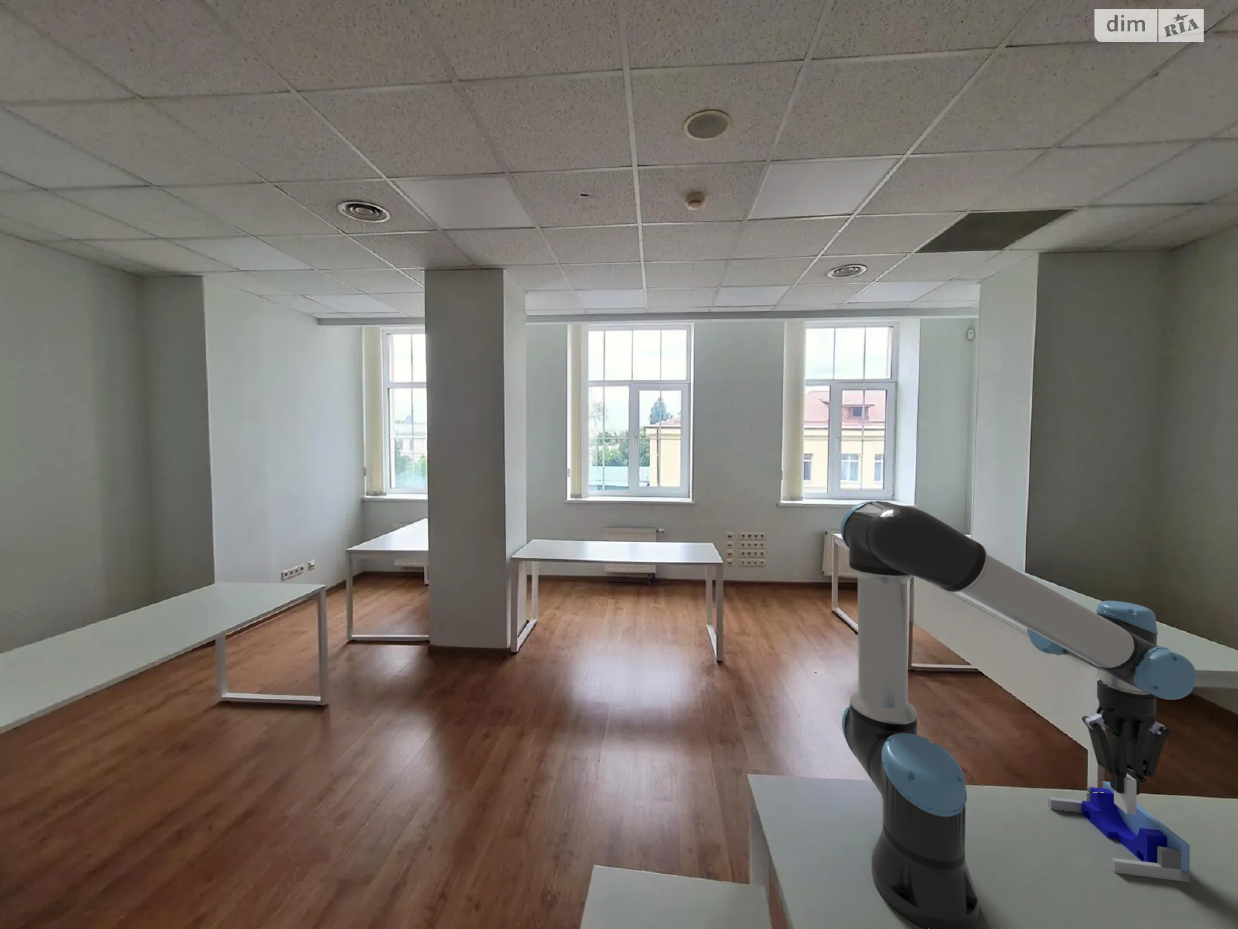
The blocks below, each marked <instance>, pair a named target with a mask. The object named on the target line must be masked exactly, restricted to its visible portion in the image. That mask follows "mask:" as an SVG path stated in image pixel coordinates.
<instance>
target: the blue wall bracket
mask: <svg viewBox="0 0 1238 929" xmlns="http://www.w3.org/2000/svg"><path fill="white" fill-rule="evenodd" d="M1091 787H1092V786H1086V801H1090V790H1091ZM1102 788H1105V789H1109V790H1110V791H1111V792H1112V793H1113V794H1114V789H1112V788H1111V786H1110V781H1105V780H1103V781H1102ZM1087 791H1088V792H1089V793H1087ZM1082 801H1083V800H1080V799H1079V800H1078V799H1071V798H1060V797H1053V796H1051V797H1050V796H1048V798H1047V807H1048V808H1049V809H1050V810H1054V811H1055V810H1056V811H1062V810H1064V811H1065V812H1071V811H1074V812H1073V813H1081V814H1082ZM1116 806H1117V805H1116ZM1117 809H1118V811H1119V814H1120V816H1121V817H1122V819H1123V821H1124V822H1125V824H1126V825H1127V826H1128V828H1129V829H1130V830H1131V831H1132V832H1133V833H1134V834H1135V835H1136V836H1137V835H1138V833H1139V828H1146V829H1155V830H1159V831H1161V832H1162V833H1163V834H1164V835H1166V836H1167V847H1159V846H1158V850H1157V863H1151V862H1143V861H1140V860H1134V859H1127V858H1126V859H1125V858H1117V857H1110V869H1111V870H1112V872H1114V873H1115V874H1121V875H1122V874H1124V875H1130V876H1131V875H1132V876H1137V877H1147V878H1154V879H1160V880H1161V879H1163V880H1169V881H1177V882H1178V881H1179V882H1183V883H1184V882H1185V883H1190V876H1191V875H1190V870H1191V869H1190V866H1191V865H1190V863H1191V862H1190V861H1191V860H1190V857H1191V855H1190V854H1191V852H1190V850H1191V847H1190V846H1191V845H1190V844H1189V843H1188V842H1187V841H1186V840H1184V839H1183V838H1181V836H1179V835H1177V834H1176V832H1174V831H1172V830H1171V829H1170V828H1169V827H1168V826H1166V825H1165V824H1164V823H1163V822H1161V821H1160V820H1158V818H1156V817H1155V816H1153V814H1151V813H1150V812H1149V811H1147V810H1146V809H1145V808H1143V806H1141V805H1139V804H1138V803H1137V802H1136V815H1133V814H1127V813H1125V812H1124V811H1123V810H1122V809H1120V808H1119V807H1118V806H1117ZM1064 811H1063V812H1064Z"/></svg>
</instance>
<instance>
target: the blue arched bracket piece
mask: <svg viewBox="0 0 1238 929" xmlns="http://www.w3.org/2000/svg"><path fill="white" fill-rule="evenodd" d="M1090 787H1091V790H1090V801H1087V800H1081V801H1082V813H1081V815H1082V816H1083V817H1084V818H1086V819H1087V821H1089V822H1090V823H1091V824H1092V825H1093V826H1094V827H1095V828H1097V830H1098V831H1099V832H1101V834H1103V835H1104V837H1106V838H1107V839H1114V840H1117V841H1118V842H1119V843H1120V844H1121V845H1123V846H1124V847H1125V848H1126V849H1127V850H1128V851H1129V852H1130V853H1132V854H1133V856H1135V857H1136V858H1137V859H1138V861H1143V862H1151V863H1157V850H1158V846H1159V847H1167V836H1166V835H1164V834H1163V833H1162V832H1161V831H1159V830H1155V829H1146V828H1139V833H1138V835H1137V836H1136V835H1135V834H1134V833H1133V832H1132V831H1131V830H1130V829H1129V828H1128V826H1127V825H1126V824H1125V822H1124V821H1123V819H1122V817H1121V816H1120V814H1119V811H1118V809H1117V806H1116V804H1114V794H1113V793H1112V792H1111V791H1110V790H1109V789H1105V788H1103V787H1095V786H1093V787H1092V786H1090ZM1093 792H1098V793H1093ZM1100 792H1104V793H1100Z"/></svg>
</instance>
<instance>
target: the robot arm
mask: <svg viewBox="0 0 1238 929" xmlns="http://www.w3.org/2000/svg"><path fill="white" fill-rule="evenodd" d="M840 535H841V539H842V541H843V542H844V545H845V546H846V547H847V548H848V561H849V562H848V564H849V566H848V568H849V569H850V570H851V571H852V572H853V573H854V574H855V575H856V576H857V651H858V652H857V656H858V657H857V658H858V659H857V662H858V666H857V670H858V671H857V677H858V678H857V679H858V680H857V683H858V684H857V685H858V686H857V687H858V688H857V689H858V690H857V691H856V692H854V693H852V694H851V696H850V699H849V706H848V707H846V708H845V710H844V711H843V714H842V720H841V729H842V733H843V736H844V738H845V741H846V744H847V745H848V747H849V750H850V751H851V752H852V754H853V755H854V757H855V758H856V759H857V761H858V762H859V764H860V765H861V766H862V768H863V769H864V771H865V772H866V774H867V776H869V779H871V781H872V783H873V785H875V787H876V789H877V790H878V791H879V793H880V795H881V798H882V829H881V832H880V834H879V837H878V838H877V841H876V844H875V846H874V849H873V851H872V853H871V876H872V880H873V882H874V885H875V886H876V889H878V892H879V893H880V895H881V896H882V897H883V898H884V900H885V901H886V902H887V903H888V904H889V905H890V906H891V907H892V908H893V909H894V910H895V911H896V912H898V913H899V915H901V916H903V917H904V918H906V919H907V920H909V921H910V922H912V923H914V924H916V925H918V926H920V927H921V928H924V929H926V928H929V929H975V928H976V927H977V926H978V923H979V920H980V918H979V917H980V915H979V914H980V913H979V912H980V909H979V908H980V905H979V904H980V903H979V897H978V894H977V891H976V888H975V885H974V882H973V879H972V877H971V873H970V870H969V868H968V865H967V862H966V804H967V799H968V794H967V787H966V782H965V775H964V772H963V769H962V767H961V765H960V764H959V762H958V761H957V760H956V758H955V757H954V756H953V755H952V754H951V753H950V752H949V751H948V750H947V749H945V748H944V747H943V746H941V745H940V744H938V743H937V742H936V743H933V742H931V740H930V739H928V738H926V737H924V736H921V735H918V713H917V710H916V709H915V708H914V706H913V705H912V704H910V703H909V701H908V700H909V691H908V690H909V688H908V687H909V686H908V684H909V683H908V678H909V677H908V675H909V674H908V672H909V671H908V670H909V669H908V667H909V666H908V665H909V664H908V658H909V657H908V651H909V650H908V649H909V648H908V643H909V642H908V582H909V580H911V579H912V578H914V577H915V578H918V579H921V580H923V581H926V582H928V583H931V584H933V585H936V586H937V587H939V588H941V589H942V590H944V591H946V592H948V593H953V594H954V593H962V594H964V595H966V596H968V597H970V598H971V599H973V600H975V601H977V602H979V603H980V604H983V605H984V606H986V607H988V608H989V609H992V611H995V612H997V613H999V614H1000V615H1002V616H1004V617H1006V618H1008V619H1009V620H1012V621H1014V622H1015V623H1017V624H1019V625H1020V626H1022V627H1025V628H1027V629H1026V632H1027V636H1028V638H1029V640H1030V643H1032V645H1033V646H1034V647H1035V648H1036V649H1037V650H1038V651H1040V652H1042V653H1044V654H1048V655H1055V656H1063V655H1064V656H1066V655H1067V656H1069V657H1072V658H1074V659H1076V660H1078V661H1080V662H1082V663H1085V664H1086V665H1089V666H1091V667H1093V668H1095V669H1096V677H1097V678H1098V679H1099V680H1097V681H1096V698H1097V699H1098V704H1099V705H1098V707H1097V708H1096V714H1094V715H1093V716H1090V717H1089V716H1087V715H1082V716H1081V720H1082V722H1083V723H1084V725H1085V726H1086V728H1087V730H1088V732H1089V737H1090V742H1091V744H1092V747H1093V751H1094V755H1095V759H1096V763H1097V764H1098V765H1099V766H1100V767H1101V768H1102V769H1103V770H1105V771H1106V772H1108V773H1109V775H1110V776H1109V779H1110V780H1109V782H1110V786H1111V788H1112V789H1114V804H1116V805H1117V806H1118V807H1119V808H1120V809H1122V810H1123V811H1124V812H1125V813H1127V814H1133V815H1136V803H1137V796H1139V795H1141V783H1142V784H1143V783H1146V782H1147V778H1145V777H1148V778H1153V777H1154V776H1155V774H1156V771H1157V767H1158V764H1159V761H1160V758H1161V754H1162V750H1163V748H1164V744H1165V742H1166V740H1167V739H1168V738H1169V737H1170V735H1171V734H1172V730H1171V729H1170V728H1169V727H1166V726H1165V725H1163V724H1162V723H1160V722H1158V721H1156V717H1155V716H1154V715H1156V713H1157V698H1160V699H1162V700H1163V699H1164V700H1173V701H1174V700H1180V699H1183V698H1185V697H1187V696H1188V695H1190V694H1191V693H1192V690H1194V687H1195V686H1196V685H1197V681H1198V675H1197V671H1196V668H1195V666H1194V665H1193V663H1192V662H1191V661H1190V660H1189V659H1188V658H1187V657H1185V656H1184V655H1182V654H1180V653H1177V652H1174V651H1172V650H1171V649H1169V648H1167V647H1165V646H1159V645H1157V642H1158V634H1159V631H1158V627H1157V618H1156V614H1155V613H1154V611H1153V610H1151V609H1150V608H1148V607H1146V606H1143V605H1140V604H1136V603H1131V602H1125V601H1117V600H1104V601H1099V602H1098V604H1097V608H1096V610H1095V611H1096V612H1094V611H1092V610H1091V609H1089V608H1087V607H1085V606H1083V605H1081V604H1079V603H1078V602H1076V601H1074V600H1072V599H1070V598H1068V597H1066V596H1065V595H1063V594H1061V593H1059V592H1057V591H1055V590H1053V589H1051V588H1050V587H1048V586H1046V585H1044V584H1043V583H1041V582H1040V581H1037V580H1035V579H1034V578H1031V577H1029V576H1028V575H1025V574H1024V573H1022V572H1020V571H1018V570H1016V569H1015V568H1013V567H1011V566H1009V565H1008V564H1005V563H1004V562H1002V561H1000V560H998V559H996V558H995V557H993V556H990V554H988V552H987V549H986V547H985V546H984V545H983V544H981V543H980V542H978V541H976V540H974V539H972V538H971V537H969V536H967V535H966V534H964V533H962V532H960V531H959V530H957V529H955V528H953V527H952V526H951V525H949V524H947V523H945V522H944V521H942V520H941V519H938V518H937V517H935V516H933V515H931V514H929V513H928V512H925V511H924V510H921V509H918V508H916V507H912V506H905V505H899V504H897V503H896V504H895V503H892V502H888V501H881V500H876V501H875V500H872V501H871V500H870V501H869V500H868V501H863V502H861V503H857V504H856V505H854V506H852V507H851V508H850V509H849V510H848V511H846V512H845V514H844V516H843V518H842V521H841V524H840ZM1105 731H1106V732H1105ZM1106 733H1107V735H1106Z"/></svg>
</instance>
